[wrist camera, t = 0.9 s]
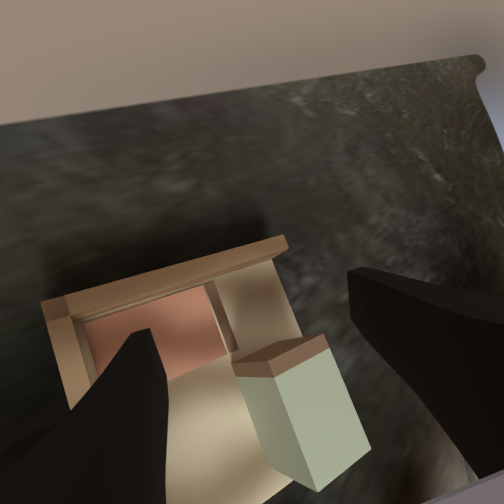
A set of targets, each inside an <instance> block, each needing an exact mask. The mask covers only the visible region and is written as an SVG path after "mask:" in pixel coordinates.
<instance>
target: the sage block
mask: <svg viewBox="0 0 504 504" xmlns="http://www.w3.org/2000/svg"><path fill="white" fill-rule="evenodd" d="M231 365H232V367H233V370H234V373H235V376H236V378H237V381H238V384H239V387H240V389H241V392H242V395H243V398H244V400H245V403H246V406H247V409H248V411H249V414H250V417H251V420H252V422H253V425H254V428H255V431H256V434H257V436H258V439H259V442H260V445H261V447H262V450H263V453H264V456H265V458H266V461H267V464H268V466H269V467H271V468H272V469H274V470H276V471H278V472H280V473H282V474H284V475H286V476H288V477H289V478H291V479H293V480H295V481H297V482H299V483H301V484H303V485H305V486H306V487H308V488H310V489H312V490H314V491H316V492H319V491H320V490H322V489H323V488H324V487H325V486H326V485H328V484H329V483H330V482H331V481H333V480H334V479H335V478H336V477H337V476H339V475H340V474H341V473H342V472H344V471H345V470H346V469H347V468H349V467H350V466H351V465H352V464H353V463H355V462H356V461H357V460H358V459H360V458H361V457H362V456H363V455H364V454H366V453H367V452H368V451H369V450H371V447H370V445H369V442H368V440H367V437H366V435H365V432H364V430H363V428H362V425H361V423H360V420H359V418H358V416H357V413H356V411H355V408H354V406H353V403H352V401H351V399H350V396H349V394H348V391H347V389H346V387H345V384H344V382H343V379H342V377H341V375H340V372H339V370H338V367H337V365H336V362H335V360H334V358H333V355H332V353H331V350H330V348H329V346H328V343H327V341H326V338H325V336H324V333H322V334H316V335H310V336H304V337H299V338H293V339H287V340H281V341H278V342H276V343H273V344H271V345H269V346H267V347H265V348H263V349H261V350H259V351H257V352H254V353H252V354H250V355H248V356H246V357H244V358H242V359H240V360H238V361H235V362H233V363H231Z"/></svg>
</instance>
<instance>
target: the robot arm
mask: <svg viewBox="0 0 504 504" xmlns="http://www.w3.org/2000/svg"><path fill="white" fill-rule="evenodd" d="M347 279H348V291H349V304H350V316H351V319H352V321H353V322H354V324H355V325H356V327H357V328H358V330H359V331H360V332H361V334H362V335H363V337H364V338H365V339H366V340H367V341H368V343H369V344H370V345H371V346H372V347H373V348H374V349H375V350H376V351H377V352H378V353H379V354H380V355H381V357H382V358H383V359H384V360H385V361H386V362H387V363H388V364H389V365H390V366H391V367H392V368H393V369H394V370H395V371H396V372H397V373H398V374H399V375H400V376H401V378H402V379H403V380H404V381H405V382H406V383H407V384H408V385H409V386H410V387H411V388H412V390H413V391H414V392H415V393H416V394H417V395H418V397H419V398H420V399H421V400H422V402H423V403H424V404H425V406H426V407H427V408H428V409H429V411H430V412H431V413H432V415H433V416H434V417H435V418H436V420H437V421H438V422H439V424H440V425H441V427H442V428H443V429H444V431H445V432H446V433H447V435H448V436H449V437H450V439H451V440H452V442H453V443H454V444H455V446H456V447H457V448H458V450H459V451H460V453H461V454H462V456H463V457H464V459H465V460H466V461H467V463H468V464H469V466H470V467H471V469H472V470H473V472H474V473H475V474H476V476H477V477H478V479H479V480H477V481H475V482H473V483H470V484H468V485H465V486H463V487H461V488H458V489H456V490H453V491H451V492H448V493H446V494H444V495H441V496H439V497H436V498H434V499H432V500H429V501H427V502H424V503H422V504H504V294H497V293H487V292H480V291H472V290H465V289H459V288H453V287H448V286H443V285H438V284H433V283H428V282H424V281H420V280H416V279H411V278H408V277H404V276H400V275H396V274H392V273H388V272H384V271H380V270H376V269H371V268H366V267H360V268H357V269H353V270H350V271H347ZM168 414H169V396H168V383H167V374H166V372H165V369H164V366H163V363H162V360H161V358H160V355H159V352H158V349H157V347H156V344H155V341H154V338H153V335H152V333H151V330H150V328H146V329H143V330H139V331H136V332H132V333H131V334H130V335H129V336H128V338H127V339H126V340H125V342H124V343H123V345H122V346H121V348H120V349H119V350H118V352H117V353H116V355H115V356H114V357H113V359H112V360H111V361H110V363H109V364H108V366H107V367H106V368H105V370H104V371H103V372H102V374H101V375H100V376H99V377H98V379H97V380H96V381H95V382H94V383H93V385H92V386H91V387H90V388H89V390H88V391H87V392H86V393H85V395H84V396H83V397H82V398H81V399H80V400H79V402H78V403H77V404H76V405H75V406H74V407H73V408H72V409H71V410H70V411H69V412H68V413H67V415H66V416H65V417H64V418H63V419H62V420H61V421H60V422H59V423H58V424H57V425H56V426H55V427H54V428H53V429H52V430H51V431H50V432H49V433H48V434H46V435H45V436H44V437H43V438H42V439H41V440H40V441H39V442H38V443H37V444H36V445H34V446H33V447H32V448H31V449H30V450H29V451H28V452H27V453H26V454H25V455H23V456H22V457H21V458H20V459H19V460H18V461H17V462H15V463H14V464H13V465H12V466H11V467H9V468H8V469H7V470H6V471H5V472H3V473H2V474H1V475H0V504H166V454H167V434H168Z"/></svg>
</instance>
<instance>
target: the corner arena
mask: <svg viewBox="0 0 504 504" xmlns="http://www.w3.org/2000/svg"><path fill="white" fill-rule="evenodd" d="M288 248H289V247H288V245H287V242H286V240H285V237H284V235H280V236H276V237H273V238H269V239H265V240H262V241H258V242H255V243H251V244H247V245H244V246H240V247H237V248H233V249H229V250H226V251H222V252H219V253H215V254H211V255H208V256H204V257H201V258H197V259H193V260H190V261H186V262H183V263H179V264H175V265H172V266H168V267H165V268H161V269H157V270H154V271H150V272H147V273H143V274H139V275H136V276H132V277H129V278H125V279H121V280H118V281H114V282H111V283H107V284H103V285H100V286H96V287H93V288H89V289H85V290H82V291H78V292H75V293H71V294H67V295H64V296H60V297H57V298H53V299H49V300H46V301H42V302H40V303H41V307H42V310H43V314H44V317H45V321H46V324H47V328H48V332H49V335H50V339H51V342H52V346H53V350H54V353H55V357H56V360H57V364H58V368H59V371H60V375H61V378H62V382H63V386H64V389H65V393H66V396H67V400H68V404H69V407H70V410H71V409H72V408H73V407H74V406H75V405H76V404H77V403H78V402H79V400H80V399H81V398H82V397H83V396H84V395H85V393H86V392H87V391H88V390H89V388H90V387H91V386H92V385H93V383H94V382H95V381H96V380H97V379H98V377H99V376H100V375H101V374H102V372H103V371H104V370H105V368H106V367H107V366H108V364H109V363H110V361H111V360H112V359H113V357H114V356H115V355H116V353H117V352H118V350H119V349H120V348H121V346H122V345H123V343H124V342H125V340H126V339H127V338H128V336H129V335H130V334H131V333H132V332H136V331H139V330H143V329H146V328H150V330H151V333H152V335H153V338H154V341H155V344H156V347H157V349H158V352H159V355H160V358H161V360H162V363H163V366H164V369H165V372H166V374H167V383H168V396H169V414H168V434H167V454H166V504H262V503H264V502H265V501H266V500H268V499H269V498H270V497H272V496H273V495H274V494H276V493H277V492H278V491H280V490H281V489H282V488H284V487H285V486H286V485H288V484H289V483H290V482H292V481H293V479H291V478H289V477H288V476H286V475H284V474H282V473H280V472H278V471H276V470H274V469H272V468H271V467H269V466H268V464H267V461H266V458H265V456H264V453H263V450H262V447H261V445H260V442H259V439H258V436H257V434H256V431H255V428H254V425H253V422H252V420H251V417H250V414H249V411H248V409H247V406H246V403H245V400H244V398H243V395H242V392H241V389H240V387H239V384H238V381H237V378H236V376H235V373H234V370H233V367H232V365H231V363H233V362H235V361H238V360H240V359H242V358H244V357H246V356H248V355H250V354H252V353H254V352H257V351H259V350H261V349H263V348H265V347H267V346H269V345H271V344H273V343H276V342H278V341H281V340H287V339H293V338H299V337H303V336H302V334H301V331H300V329H299V326H298V324H297V321H296V319H295V316H294V314H293V311H292V309H291V306H290V304H289V301H288V299H287V296H286V294H285V291H284V289H283V286H282V284H281V282H280V279H279V277H278V274H277V272H276V269H275V267H274V264H273V262H272V259H273V258H274V257H276V256H277V255H279V254H281V253H282V252H284V251H285V250H287V249H288Z"/></svg>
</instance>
